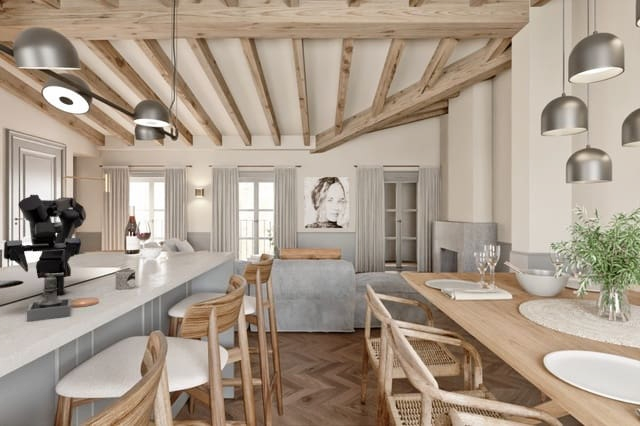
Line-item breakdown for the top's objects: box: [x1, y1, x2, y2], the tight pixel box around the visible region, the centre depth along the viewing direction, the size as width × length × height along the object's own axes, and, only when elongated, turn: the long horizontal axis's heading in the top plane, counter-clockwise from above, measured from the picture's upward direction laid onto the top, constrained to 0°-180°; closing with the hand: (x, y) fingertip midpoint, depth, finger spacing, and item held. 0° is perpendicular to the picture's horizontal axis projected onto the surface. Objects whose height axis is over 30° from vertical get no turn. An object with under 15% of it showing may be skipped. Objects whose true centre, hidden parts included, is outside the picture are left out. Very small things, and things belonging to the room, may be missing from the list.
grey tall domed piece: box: [38, 273, 63, 309], centre depth 104 cm, size 6×6×12 cm
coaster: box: [71, 297, 100, 308], centre depth 116 cm, size 8×8×1 cm
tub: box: [26, 298, 72, 323], centre depth 104 cm, size 10×10×3 cm
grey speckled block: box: [115, 269, 136, 291], centre depth 141 cm, size 10×7×7 cm, turn 5°
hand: (46, 269), depth 108 cm, fingers open, 9 cm apart
